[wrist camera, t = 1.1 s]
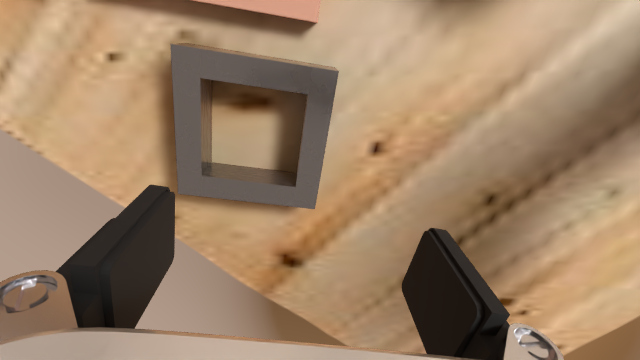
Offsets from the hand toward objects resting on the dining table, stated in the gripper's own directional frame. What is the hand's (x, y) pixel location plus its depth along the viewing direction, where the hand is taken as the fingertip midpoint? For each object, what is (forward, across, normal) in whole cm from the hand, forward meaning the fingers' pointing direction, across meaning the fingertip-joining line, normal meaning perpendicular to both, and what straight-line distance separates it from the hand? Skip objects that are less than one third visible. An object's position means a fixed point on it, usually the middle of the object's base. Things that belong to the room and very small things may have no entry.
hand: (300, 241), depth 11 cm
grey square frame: (+17, +4, +1) cm, 18 cm away
